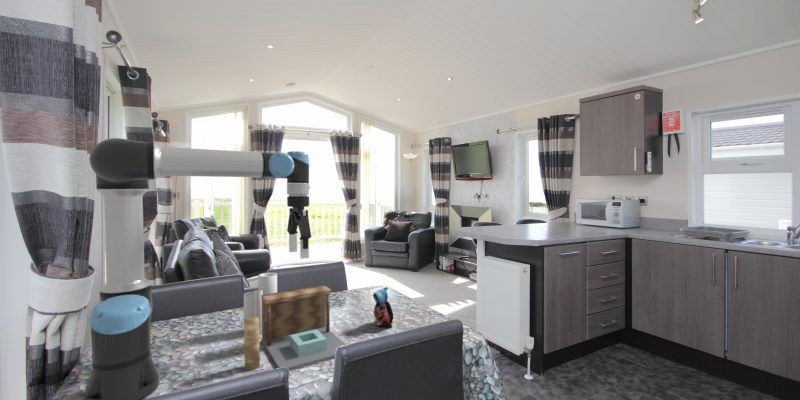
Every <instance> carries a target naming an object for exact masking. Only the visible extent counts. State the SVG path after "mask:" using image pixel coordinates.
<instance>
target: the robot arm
mask: <svg viewBox="0 0 800 400" xmlns="http://www.w3.org/2000/svg"><path fill="white" fill-rule="evenodd" d="M88 160H89V165H90V167H91V169H92V171H93V173H94V174H95V183H96V184H95V185H96V188H95V189H96V191H97V192H98V193H100V194H101V195H102V196H103V207H104V209H103V210H104V211H103V212H104V236H105V237H104V241H105V245H104V246H105V271H106V272H105V273H106V274H105V275H106V276H105V278H106V282H105V283H104V285H103V286H102V287H100V289H99V302H98V303H97V304H96V305H94V306H93V308H92V310H91V313H90V318H89V324H90V331H91V332H90V333H91V337H90V338H91V362H92V363H91V365H92V369H91V373H90V375H89V378H88V381H87V384H86V386H85V389H84V392H83V400H138V399H141V398H143V397H145V398H146V397H148V396H150V395H151V394H152V393H154V392H155V391H156V390H157V389H158V387H159V385H160V372H159V370H158V368H157V366H156V364H155V362H154V360H153V358H152V354H151V353H152V352H151V321H152V313H153V310H154V300H153V297H152V281H150V280H149V279H147V278H146V273H145V241H144V206H143V205H144V204H143V202H144V201H143V200H144V199H143V198H144V197H143V196H144V195H145V194H146V193H147V192H148V191H149V189H150V187H149V186H150V185H149V184H150V183H149V180H154V181H156V180H157V179H159V178H160V177H209V178H210V177H213V178H214V177H215V178H216V177H217V178H218V177H220V178H223V177H224V178H225V177H226V178H254V179H261V180H262V179H286V183H287V184H286V194H287V195H288V196H286V197H287V199H286V200H287V201H286V203H287V204H286V205H287V207H289V210H288V211H289V214H288V221H287V230H286V231H287V232H288V249H289V251H288V253H297V252H298V234H300V236H299V241H300V243H299V244H300V246H299V248H300V250H299V251H300V252H299V253H300V254H299V255H300V256H299V259H301V260H302V259H309V258H310V239H311V238H312V232H311V226H310V220H309V211H308V209H305V207H310V197H309V196H308V195H309V194H310V189H311V186H310V158H309V154H308V153H307V152H306V151H300V150H299V151H297V150H296V151H295V150H294V151H290V150H289V151H287V153H286V152H282V151H280V152H261V151H259V152H258V151H243V150H223V149H222V150H221V149H207V148H205V149H204V148H189V147H188V148H187V147H186V148H185V147H173V146H172V147H170V146H168V147H167V146H160V145H158V144H157V142H151V141H150V142H149V141H140V140H139V141H138V140H132V139H127V138H119V137H115V138H114V137H111V138H107V139H104V140H102V141H100V142H98V143H97V144H96V145H94V146H93V148H91V151H90V154H89V159H88ZM298 230H299V233H298ZM153 391H154V392H153ZM150 393H151V394H150ZM143 399H144V398H143ZM141 400H142V399H141Z"/></svg>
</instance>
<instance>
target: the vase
mask: <svg viewBox="0 0 800 400" xmlns="http://www.w3.org/2000/svg"><path fill="white" fill-rule="evenodd" d="M257 278H258V283H257V284H258V285H257V286H258V289H254V290H252V291H247V292H244V293H243V321H244V320H245V319H246V318H249V317H258V318H259V336H260V335H262V295H266V294H272V293H278V274H277V273H276V272H262V273H259V274H258V277H257Z"/></svg>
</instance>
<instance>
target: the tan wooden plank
mask: <svg viewBox="0 0 800 400" xmlns="http://www.w3.org/2000/svg"><path fill="white" fill-rule="evenodd" d="M330 294H332V289H331V288H329V287H328V286H326V285H319V286H312V287H311V288H310V287H306V288H299V289H293V290H285V291H279V292H277V293H272V294H266V295H262V334H261V342H262V341H265V340H267V346H271V339H274V338H278V337H283V336H287V335H292V334H296V333H301V332H305V331H310V330H314V329H319V328H323V327H326V332H330V331H331V330H330V328H331V327H330V320H331V319H330V314H331V313H330V312H331V311H330V305H331V304H330Z"/></svg>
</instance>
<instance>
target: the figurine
mask: <svg viewBox="0 0 800 400" xmlns="http://www.w3.org/2000/svg"><path fill="white" fill-rule="evenodd" d="M387 290H389V287H388V286H385V287H384V288H380V289H378V290H376V291H375V292H373V294H372V297H373V300H375V301H374V302H375V305H374V309H373V315H374V317H375V319H374V324H376V326H377V327H380V328H383V329H392V328H393V324H392V323H393V320H394V312H393V310H392V305H391V303H390V302H389V301H388V291H387Z"/></svg>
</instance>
